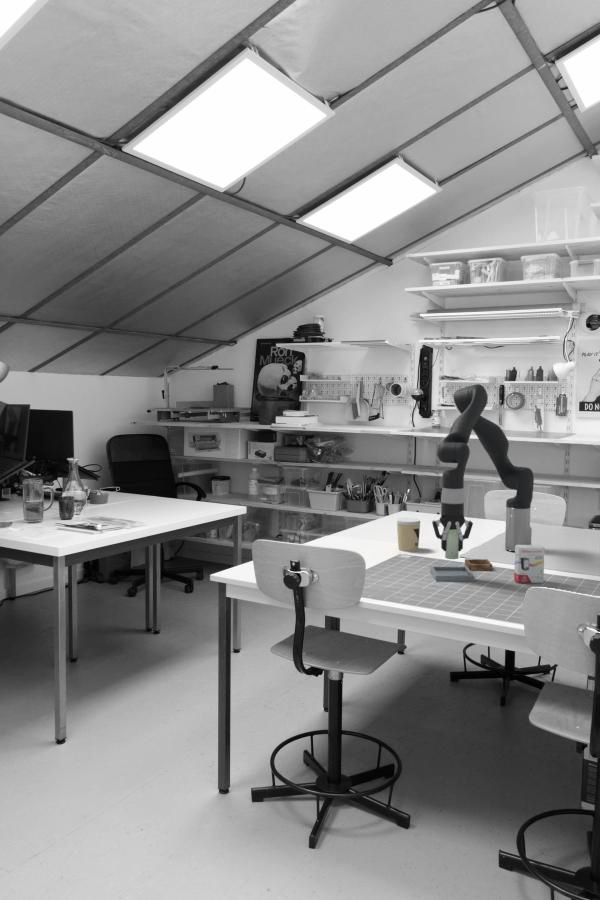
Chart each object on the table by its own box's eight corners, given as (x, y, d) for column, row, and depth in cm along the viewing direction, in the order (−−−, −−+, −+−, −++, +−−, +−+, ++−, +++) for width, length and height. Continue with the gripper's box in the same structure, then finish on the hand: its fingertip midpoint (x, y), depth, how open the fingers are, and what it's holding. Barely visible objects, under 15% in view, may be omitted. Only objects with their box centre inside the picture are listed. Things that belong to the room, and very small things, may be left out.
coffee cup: (419, 552, 277) (420, 522, 276) (395, 551, 279) (395, 521, 278) (420, 547, 286) (420, 518, 285) (397, 546, 288) (397, 517, 287)
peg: (457, 556, 243) (457, 527, 243) (459, 559, 239) (460, 530, 238) (444, 556, 244) (444, 527, 243) (446, 559, 239) (446, 530, 238)
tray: (466, 571, 248) (466, 566, 248) (474, 581, 235) (474, 576, 235) (430, 571, 248) (430, 566, 248) (435, 581, 236) (435, 575, 236)
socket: (487, 564, 258) (487, 559, 258) (492, 570, 250) (492, 564, 249) (464, 564, 258) (464, 559, 258) (469, 570, 250) (469, 564, 250)
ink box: (517, 583, 233) (518, 548, 232) (513, 579, 238) (514, 544, 237) (544, 583, 233) (545, 548, 232) (539, 579, 238) (540, 544, 237)
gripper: (471, 499, 243) (470, 548, 245) (429, 499, 244) (429, 548, 245) (476, 502, 236) (475, 553, 237) (433, 502, 236) (432, 553, 238)
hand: (451, 550), depth 241 cm, fingers closed on peg, 4 cm apart
